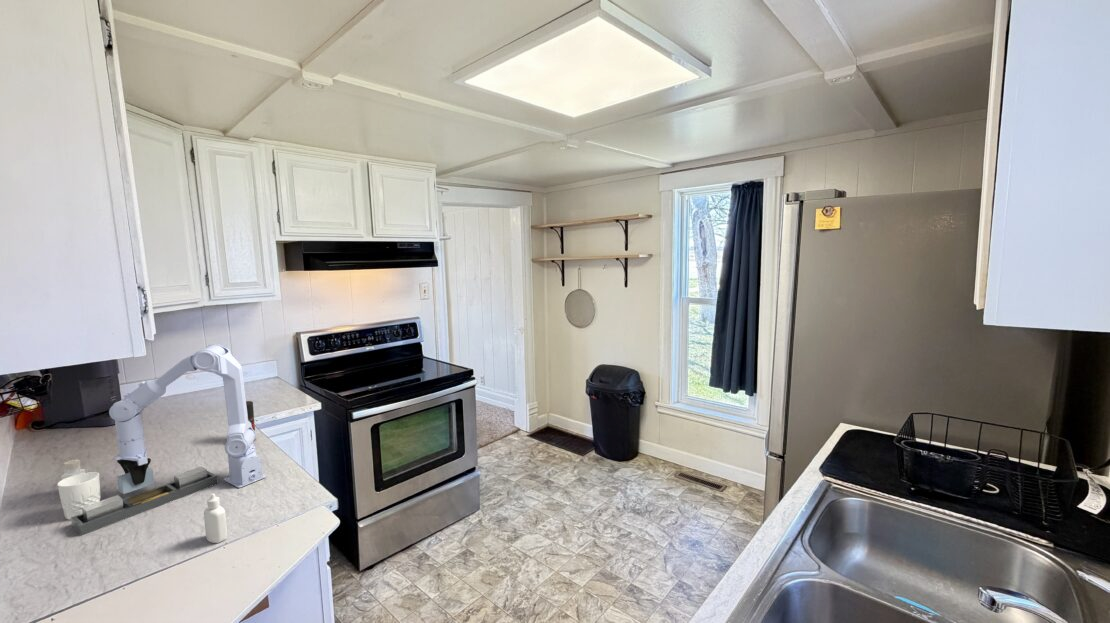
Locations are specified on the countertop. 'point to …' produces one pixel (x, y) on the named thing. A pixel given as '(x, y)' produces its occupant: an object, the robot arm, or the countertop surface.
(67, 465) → the salt shaker
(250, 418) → the deodorant
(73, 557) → the countertop surface
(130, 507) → the tray
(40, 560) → the countertop surface
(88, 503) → the white cup
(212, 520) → the eye dropper bottle
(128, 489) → the light blue rectangular block
